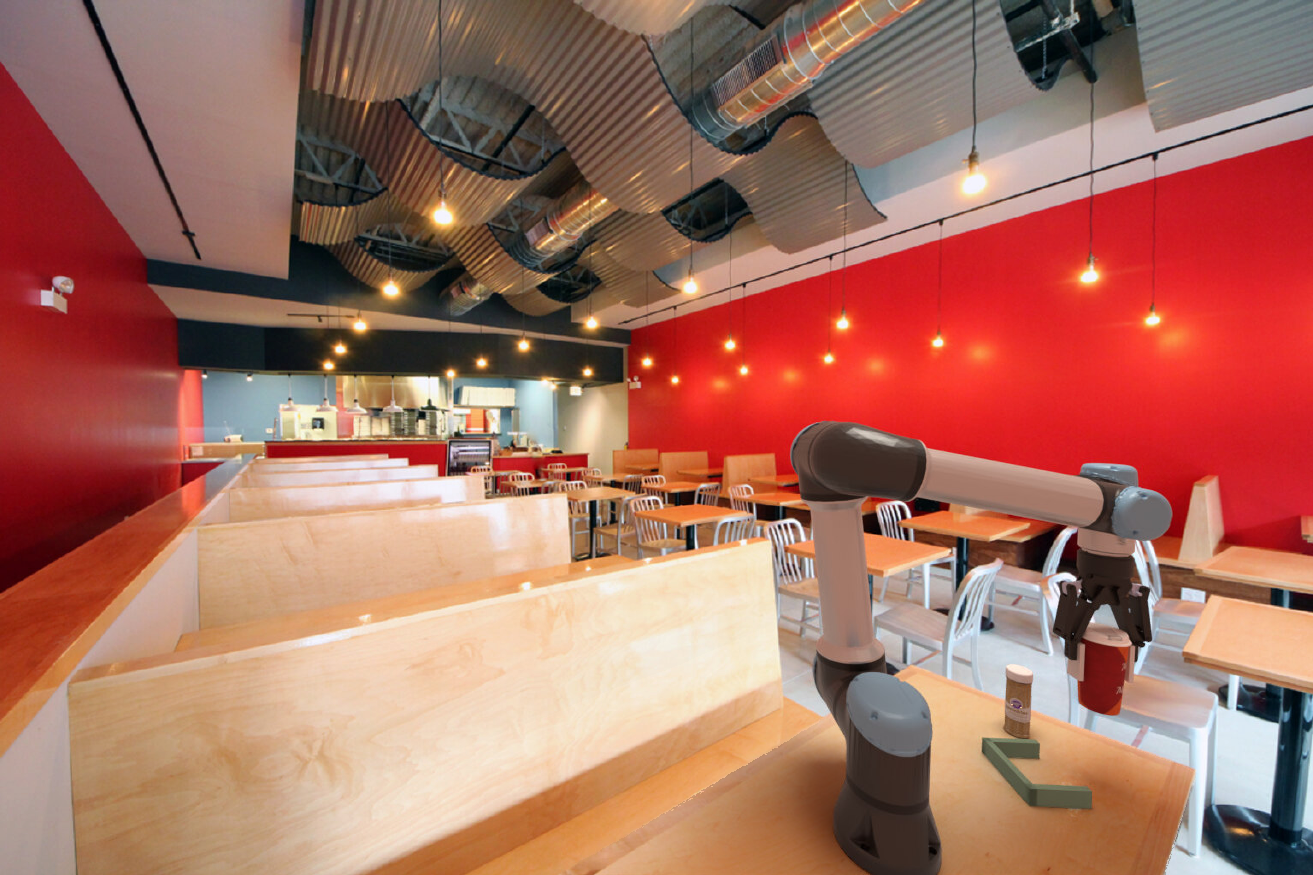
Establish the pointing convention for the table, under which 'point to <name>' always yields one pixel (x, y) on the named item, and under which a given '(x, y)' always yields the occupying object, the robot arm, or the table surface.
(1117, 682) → the paper cup
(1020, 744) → the green pocket
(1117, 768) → the table surface
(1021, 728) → the sprinkles bottle
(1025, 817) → the table surface
